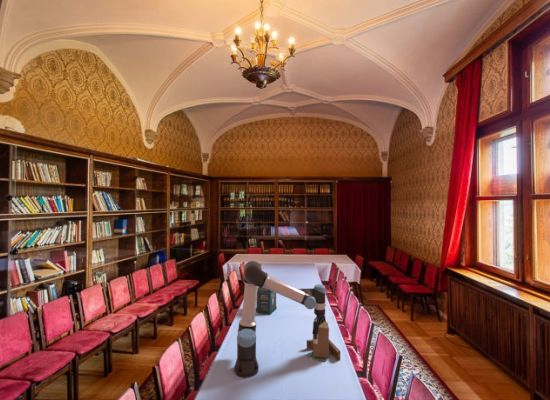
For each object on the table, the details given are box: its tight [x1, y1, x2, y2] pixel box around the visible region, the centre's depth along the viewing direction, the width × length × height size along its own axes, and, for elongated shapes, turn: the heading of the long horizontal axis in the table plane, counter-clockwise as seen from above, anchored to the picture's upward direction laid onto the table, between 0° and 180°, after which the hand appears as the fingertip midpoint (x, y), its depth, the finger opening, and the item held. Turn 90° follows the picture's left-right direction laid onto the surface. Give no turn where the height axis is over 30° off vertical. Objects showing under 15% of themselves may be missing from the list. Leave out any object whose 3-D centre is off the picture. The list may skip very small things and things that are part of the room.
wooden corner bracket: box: [306, 338, 341, 361], centre depth 206 cm, size 16×20×6 cm
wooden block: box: [312, 321, 330, 359], centre depth 204 cm, size 10×10×20 cm
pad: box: [307, 350, 332, 363], centre depth 204 cm, size 12×12×1 cm
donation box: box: [255, 287, 278, 316], centre depth 283 cm, size 16×16×28 cm
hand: (319, 339), depth 204 cm, fingers open, 13 cm apart
